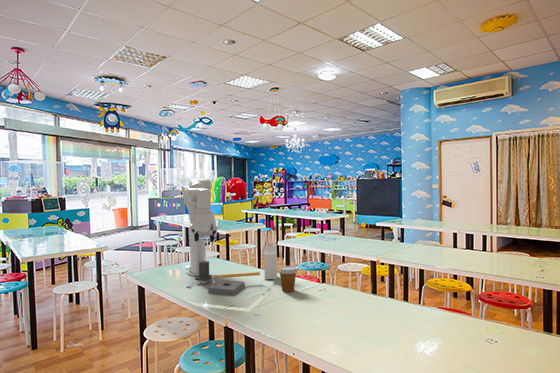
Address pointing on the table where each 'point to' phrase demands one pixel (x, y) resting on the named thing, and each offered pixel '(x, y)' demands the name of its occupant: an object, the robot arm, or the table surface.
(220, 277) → the orange rod with ball
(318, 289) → the table surface
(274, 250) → the milk carton
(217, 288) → the socket
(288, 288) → the disposable coffee cup
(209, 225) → the robot arm
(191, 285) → the mat
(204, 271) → the plug
